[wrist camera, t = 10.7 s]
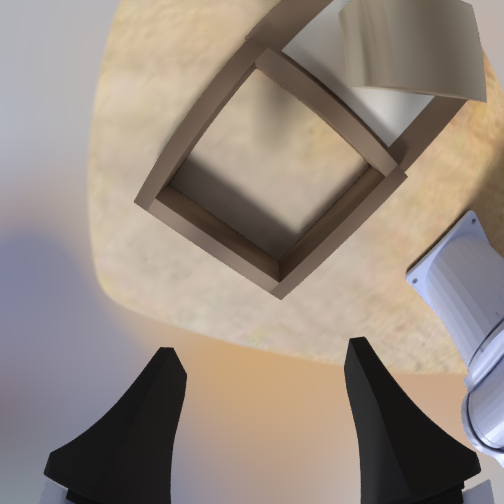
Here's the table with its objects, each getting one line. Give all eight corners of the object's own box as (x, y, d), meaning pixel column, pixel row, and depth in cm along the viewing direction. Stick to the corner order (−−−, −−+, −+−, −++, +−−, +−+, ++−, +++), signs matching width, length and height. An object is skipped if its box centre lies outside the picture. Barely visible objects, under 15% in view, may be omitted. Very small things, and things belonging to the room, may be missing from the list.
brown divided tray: (471, 82, 11) (494, 84, 9) (284, 281, 20) (286, 303, 18) (344, -46, 8) (355, -62, 6) (143, 184, 17) (126, 197, 15)
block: (411, 24, 9) (471, 5, 4) (420, 94, 12) (486, 102, 7) (338, 13, 10) (376, -26, 5) (348, 88, 12) (396, 84, 7)
